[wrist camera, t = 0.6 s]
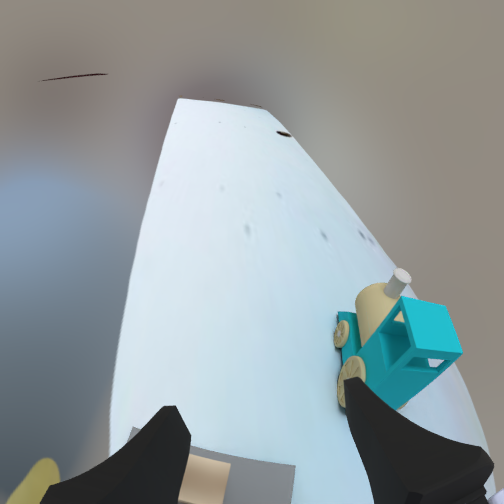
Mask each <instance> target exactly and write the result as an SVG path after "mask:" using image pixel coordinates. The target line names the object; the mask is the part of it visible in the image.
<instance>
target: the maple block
mask: <svg viewBox="0 0 504 504" xmlns="http://www.w3.org/2000/svg"><path fill="white" fill-rule="evenodd" d="M230 466H231V464H230V463H225V462H221V461H216V460H212V459H208V458H204V457H200V456H196V455H192V454H189V458H188V462H187V466H186V470H185V473H184V477H183V481H182V485H181V489H180V493H179V498H178V502H180V503H184V504H222V503H223V499H224V494H225V489H226V485H227V480H228V475H229V470H230Z"/></svg>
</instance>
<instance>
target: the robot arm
mask: <svg viewBox="0 0 504 504" xmlns="http://www.w3.org/2000/svg"><path fill="white" fill-rule="evenodd" d="M343 382H344V395H345V409H346V416H347V420H348V424H349V427H350V431H351V434H352V437H353V439H354V442H355V444H356V447H357V449H358V452H359V454H360V457H361V459H362V462H363V465H364V467H365V470H366V472H367V475H368V479H369V482H370V486H371V491H372V495H373V499H374V504H504V488H503V489H502V490H500V491H499V492H497V493H496V494H494V495H493V496H492V497H490V498H489V499H488V500H487V499H486V497H485V494H486V489H485V487H484V486H483V485H484V484H485V482H486V481H487V479H488V478H489V476H490V475H491V473H492V471H493V468H494V463H493V461H492V460H491V458H490V457H489V456H488V454H487V453H486V452H485V451H484V450H483V449H482V447H479V446H474V445H469V444H464V443H460V442H456V441H453V440H450V439H447V438H444V437H442V436H440V435H437V434H435V433H432V432H430V431H428V430H426V429H424V428H422V427H420V426H418V425H417V424H415V423H413V422H411V421H410V420H408V419H407V418H405V417H404V416H402V415H401V414H399V413H398V412H397V411H395V410H394V409H393V408H391V407H390V406H389V405H388V404H387V403H385V402H384V401H383V400H382V399H381V398H380V397H378V396H377V395H376V394H375V393H374V392H373V391H372V390H371V389H370V388H369V387H368V386H367V385H366V384H365V383H364V382H363V381H362V379H361V378H360V377H358V376H357V377H353V378H349V379H345V380H343ZM190 444H191V434H190V432H189V430H188V428H187V427H186V425H185V423H184V421H183V419H182V417H181V415H180V413H179V411H178V409H177V407H176V406H163V407H162V408H161V409H160V410H159V411H158V412H157V413H156V414H155V415H154V416H153V417H152V418H151V420H150V421H149V422H148V423H147V424H146V425H145V426H144V427H143V428H142V429H141V430H140V431H139V432H138V433H137V434H136V435H135V436H134V437H133V438H132V439H131V440H130V441H129V442H128V443H126V444H125V445H124V446H123V447H122V448H121V449H120V450H119V451H117V452H116V453H115V454H114V455H112V456H111V457H109V458H108V459H107V460H105V461H104V462H102V463H101V464H99V465H97V466H96V467H94V468H92V469H90V470H89V471H87V472H85V473H83V474H81V475H79V476H76V477H74V478H72V479H69V480H66V481H63V482H60V483H57V484H54V485H50V486H49V488H48V490H47V491H46V493H45V495H44V497H43V498H42V500H41V502H40V504H178V498H179V493H180V489H181V485H182V481H183V477H184V473H185V470H186V466H187V462H188V458H189V453H190Z"/></svg>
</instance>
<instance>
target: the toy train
mask: <svg viewBox="0 0 504 504" xmlns="http://www.w3.org/2000/svg"><path fill="white" fill-rule="evenodd" d="M410 282H411V277H410V275H409V274H408V273H407V272H406V271H405V270H403V269H400V268H396V269H394V274H393V276H392V277H391V279H390V281H389V282H388V283H376V284H372V285H370V286H368V287H366V288H364V289H363V290H362V291H361V292H360V293H359V294H358V296H357V298H356V300H355V307H356V313H357V314H356V313H351V312H338V317H339V324H338V325H337V327H336V330H335V335H334V343H335V346H336V347H338V348H342V359H343V367H342V369H341V372H340V375H339V379H338V385H337V396H338V401H339V403H340V405H341V406H342V407H344V408H345V395H344V382H343V380H345V379H349V378H353V377H357V376H358V377H360V378H361V379H362V381H363V382H364V383H365V384H366V385H367V386H368V387H369V388H370V389H371V390H372V391H373V392H374V393H375V394H376V395H377V396H378V397H380V398H381V399H382V400H383V401H384V402H385V403H387V404H388V405H389V406H390V407H391V408H393V409H394V410H399V409H401V408H403V407H404V406H405V405H406V404H407V402H408V401H409V400H410V399H411V398H412V397H414V396H415V395H416V394H418V393H419V392H420V391H421V390H422V389H424V388H425V387H426V386H427V385H429V384H430V383H431V382H432V381H433V380H434V379H436V378H437V377H438V376H439V375H440V374H441V373H442V372H444V371H445V370H446V369H447V368H448V367H449V366H450V365H451V364H452V363H453V362H454V361H455V360H457V359H458V358H459V357H460V356H461V355H462V354H463V351H462V348H461V345H460V342H459V340H458V337H457V334H456V331H455V329H454V326H453V323H452V321H451V318H450V316H449V313H448V311H447V309H446V306H443V305H439V304H435V303H430V302H426V301H421V300H417V299H413V298H408V297H404V296H401V297H400V294H401V292H402V291H403V289H404V288H405V286H406V285H407V284H408V283H410ZM428 358H430V359H441V360H444V361H443V362H442V363H441V364H440V365H439V366H438V367H430V366H429V362H428Z"/></svg>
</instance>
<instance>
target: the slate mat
mask: <svg viewBox="0 0 504 504" xmlns="http://www.w3.org/2000/svg"><path fill="white" fill-rule="evenodd" d="M140 430H141V429H138V428H135V427H133V428H132V431H131V433H130V436H129V439H128V442H129V441H130V440H131V439H132V438H133V437H134V436H135V435H136V434H137V433H138V432H139V431H140ZM128 442H127V443H128ZM189 454H192V455H196V456H200V457H204V458H208V459H212V460H216V461H221V462H225V463H230V464H231V466H230V470H229V475H228V480H227V485H226V489H225V494H224V499H223V503H222V504H291V498H292V491H293V483H294V475H295V465H286V464H278V463H271V462H265V461H258V460H253V459H247V458H242V457H237V456H232V455H227V454H222V453H218V452H214V451H210V450H206V449H202V448H198V447H194V446H191V445H190V453H189ZM178 504H184V503H180V502H178Z"/></svg>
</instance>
